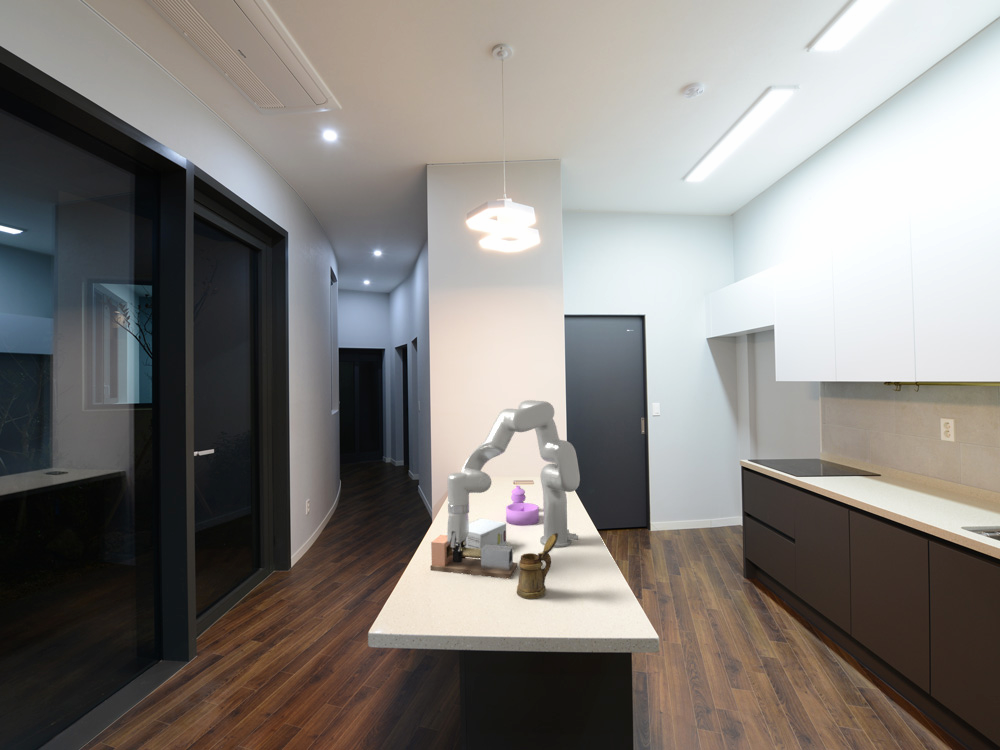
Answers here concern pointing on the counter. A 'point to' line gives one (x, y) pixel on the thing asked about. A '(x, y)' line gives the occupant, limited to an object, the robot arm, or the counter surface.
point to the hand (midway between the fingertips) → (459, 559)
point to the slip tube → (466, 552)
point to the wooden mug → (535, 571)
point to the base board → (473, 568)
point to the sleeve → (497, 557)
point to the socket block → (440, 551)
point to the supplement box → (485, 533)
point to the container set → (521, 510)
